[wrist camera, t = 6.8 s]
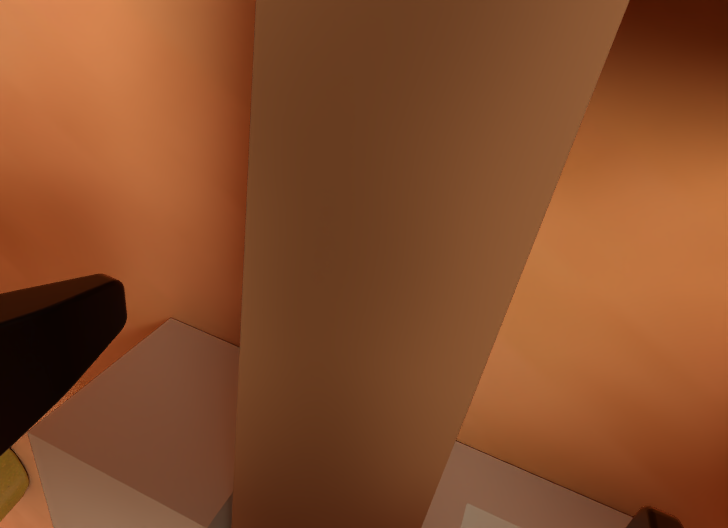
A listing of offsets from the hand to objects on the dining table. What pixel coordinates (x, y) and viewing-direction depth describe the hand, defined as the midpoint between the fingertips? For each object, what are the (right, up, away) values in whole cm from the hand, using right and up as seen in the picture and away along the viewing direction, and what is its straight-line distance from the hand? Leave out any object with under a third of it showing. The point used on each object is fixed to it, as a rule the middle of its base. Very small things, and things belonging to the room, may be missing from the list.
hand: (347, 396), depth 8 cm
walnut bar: (+1, +1, +2) cm, 3 cm away
